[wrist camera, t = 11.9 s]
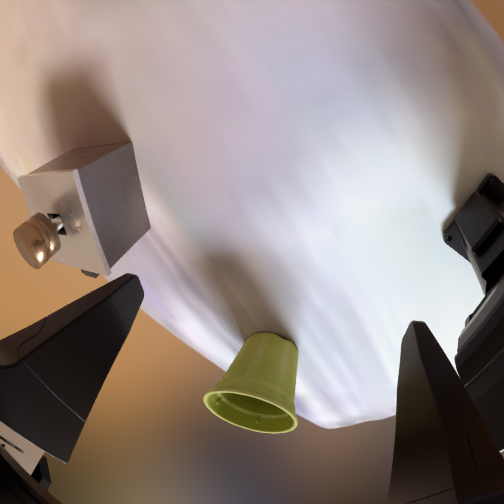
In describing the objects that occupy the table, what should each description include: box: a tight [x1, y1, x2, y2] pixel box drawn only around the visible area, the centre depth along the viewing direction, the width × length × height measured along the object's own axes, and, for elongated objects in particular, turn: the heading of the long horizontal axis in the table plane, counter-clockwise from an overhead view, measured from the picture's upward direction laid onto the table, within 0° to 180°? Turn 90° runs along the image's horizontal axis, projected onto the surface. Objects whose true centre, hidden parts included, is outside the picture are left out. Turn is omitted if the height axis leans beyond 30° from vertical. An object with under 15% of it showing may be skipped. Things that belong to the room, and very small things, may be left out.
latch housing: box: [18, 142, 150, 278], centre depth 23 cm, size 9×11×7 cm
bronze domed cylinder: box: [13, 213, 64, 269], centre depth 20 cm, size 4×4×9 cm
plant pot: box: [203, 332, 298, 433], centre depth 28 cm, size 9×9×9 cm
